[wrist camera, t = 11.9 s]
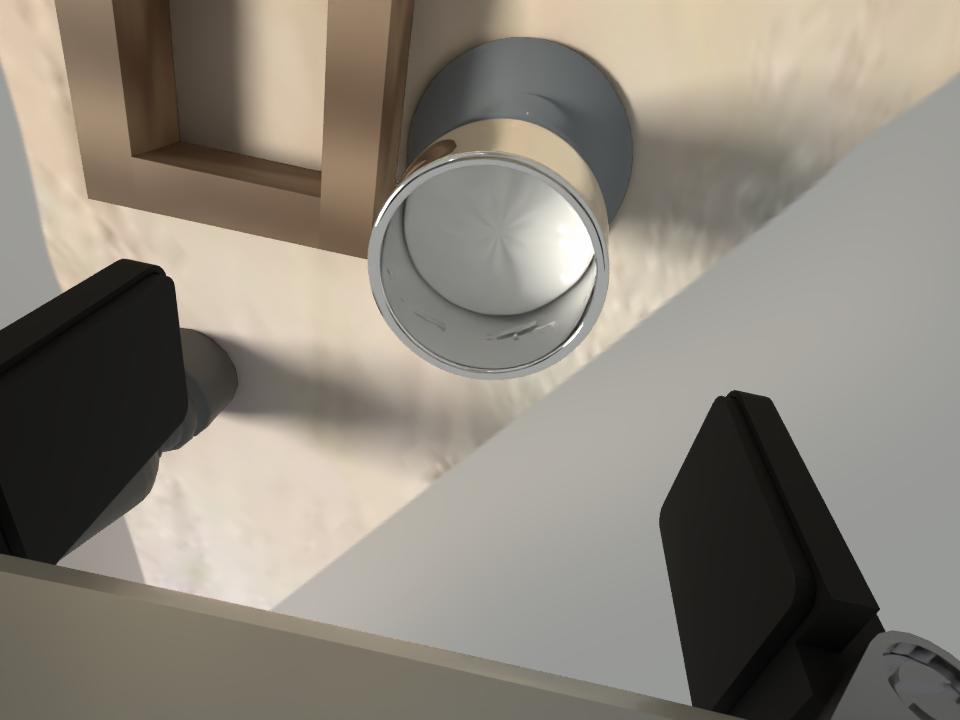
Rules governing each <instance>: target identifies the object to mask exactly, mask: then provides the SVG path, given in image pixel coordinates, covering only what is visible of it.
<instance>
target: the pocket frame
mask: <svg viewBox="0 0 960 720" xmlns="http://www.w3.org/2000/svg"><path fill="white" fill-rule="evenodd" d="M55 6H56V12H57V17H58V23H59V29H60V35H61V41H62V47H63V53H64V59H65V65H66V70H67V76H68V82H69V88H70V94H71V100H72V106H73V112H74V118H75V123H76V129H77V135H78V141H79V147H80V153H81V159H82V165H83V171H84V176H85V182H86V188H87V194H88V199H93V200H97V201H102V202H107V203H111V204H116V205H120V206H125V207H130V208H134V209H139V210H143V211H148V212H152V213H157V214H162V215H166V216H171V217H175V218H180V219H185V220H189V221H194V222H198V223H203V224H207V225H212V226H217V227H221V228H226V229H230V230H235V231H240V232H244V233H249V234H253V235H258V236H262V237H267V238H272V239H276V240H281V241H285V242H290V243H295V244H299V245H304V246H308V247H313V248H317V249H322V250H327V251H331V252H336V253H340V254H345V255H350V256H354V257H359V258H363V259H368V248H369V241H370V236H371V232H372V229H373V226H374V223H375V220H376V218H377V216H378V214H379V212H380V210H381V208H382V206H383V205H384V203H385V201H386V200H387V199H388V197H389V196H390V195H391V193H392V192H393V191H394V189H395V181H396V171H397V161H398V152H399V142H400V133H401V123H402V113H403V104H404V94H405V85H406V75H407V65H408V56H409V46H410V36H411V27H412V17H413V8H414V0H328V21H327V47H326V73H325V99H324V124H323V150H322V172H319V171H315V170H310V169H305V168H301V167H296V166H291V165H287V164H282V163H278V162H273V161H268V160H264V159H259V158H254V157H250V156H245V155H241V154H236V153H231V152H227V151H222V150H218V149H213V148H208V147H204V146H199V145H194V144H190V143H185V142H181V141H180V137H179V125H178V113H177V101H176V89H175V77H174V65H173V53H172V41H171V29H170V17H169V5H168V0H55Z"/></svg>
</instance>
